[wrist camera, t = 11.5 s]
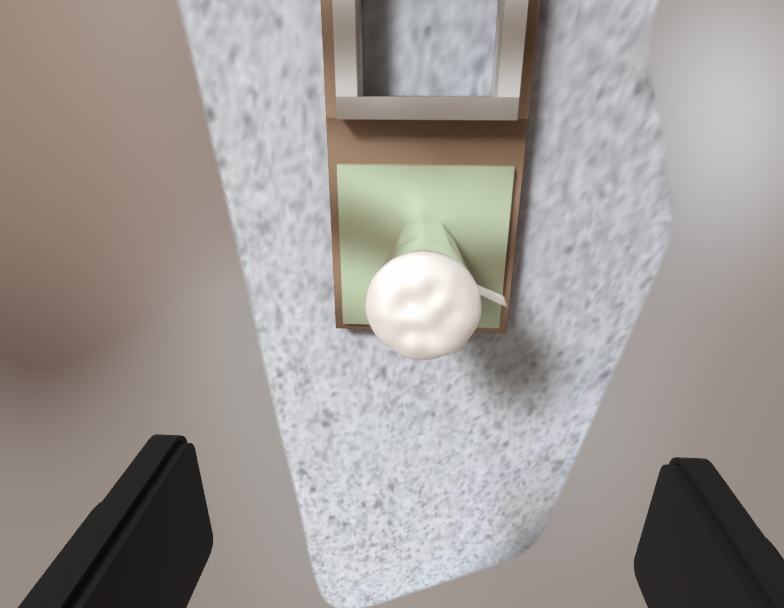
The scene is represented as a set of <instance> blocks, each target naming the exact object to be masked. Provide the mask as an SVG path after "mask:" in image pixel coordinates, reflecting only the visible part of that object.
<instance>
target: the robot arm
mask: <svg viewBox="0 0 784 608" xmlns="http://www.w3.org/2000/svg"><path fill="white" fill-rule="evenodd" d="M212 545H213V533H212V528H211V524H210V519H209V514H208V509H207V504H206V500H205V495H204V490H203V485H202V480H201V475H200V471H199V466H198V461H197V456H196V451H195V447H194V445H193V444H192V443H187V440H186V438H185V437H184V436H180V435H179V436H178V435H157V434H156V435H153V436H152V437H151V438H150V439H149V440H148V441H147V443H146V444H145V446H144V447H143V448H142V450H141V451H140V452H139V453H138V455H137V456H136V457H135V459H134V460H133V461H132V463H131V464H130V465H129V467H128V468H127V469H126V471H125V472H124V473H123V475H122V476H121V477H120V479H119V480H118V481H117V483H116V484H115V485H114V486H113V488H112V489H111V490H110V492H109V493H108V494H107V496H106V497H105V498H104V500H103V501H102V502H101V503H99V504H98V505H97V506H96V507H95V508H94V509H93V510H92V511H91V512H90V514H89V515H88V516H87V518H86V519H85V520H84V522H83V523H82V524H81V526H80V527H79V528H78V529H77V531H76V532H75V533H74V535H73V536H72V537H71V539H70V540H69V541H68V543H67V544H66V545H65V546H64V548H63V549H62V550H61V552H60V553H59V554H58V556H57V557H56V558H55V560H54V561H53V562H52V563H51V565H50V566H49V567H48V569H47V570H46V572H45V573H44V574H43V575H42V577H41V578H40V579H39V581H38V582H37V583H36V584H35V586H34V587H33V588H32V590H31V591H30V592H29V594H28V595H27V596H26V598H25V599H24V600H23V601H22V603H21V604H20V605H19V607H18V608H186V607H187V605H188V603H189V600H190V598H191V596H192V594H193V591H194V589H195V587H196V585H197V582H198V580H199V578H200V576H201V573H202V571H203V569H204V567H205V565H206V563H207V560H208V558H209V556H210V553H211V550H212ZM634 571H635V576H636V579H637V582H638V584H639V587H640V589H641V591H642V594H643V596H644V599H645V601H646V604H647V606H648V608H784V559H783V558H782V557H781V555H780V554H779V552H778V551H777V549H776V548H775V547H774V546H773V545H772V543H771V542H770V541H769V540H768V539H767V538H765V536H764V535H763V533H762V532H761V531H760V529H759V528H758V527H757V526H756V524H755V523H754V521H753V520H752V518H751V517H750V515H749V514H748V513H747V511H746V510H745V509H744V507H743V506H742V504H741V503H740V502H739V500H738V499H737V498H736V496H735V495H734V493H733V492H732V491H731V489H730V488H729V486H728V485H727V484H726V482H725V481H724V480H723V478H722V477H721V475H720V474H719V473H718V471H717V470H716V469H715V467H714V466H713V465H712V463H711V462H710V461H709V460H707V459H701V458H678V457H677V458H673V459H672V460H671V461H670V463H669V465H663V466H662V467H661V469H660V472H659V476H658V479H657V483H656V486H655V489H654V493H653V496H652V500H651V503H650V507H649V510H648V514H647V517H646V521H645V524H644V527H643V531H642V534H641V538H640V541H639V544H638V548H637V552H636V555H635V558H634Z"/></svg>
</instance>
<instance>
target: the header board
mask: <svg viewBox="0 0 784 608" xmlns="http://www.w3.org/2000/svg"><path fill="white" fill-rule="evenodd" d="M539 10H540V0H498V8H497V22H496V35H495V49H494V62H493V76H492V89H491V96H363V56H362V3H361V0H321V16H322V38H323V59H324V81H325V102H326V124H327V145H328V167H329V188H330V210H331V231H332V252H333V274H334V295H335V317H336V328H348V329H372V328H371V326H370V324H369V321H368V318H367V315H366V297H367V292H368V289H369V285H370V283H371V281H372V279H373V277H374V276H375V274H376V273H377V271H378V270H379V268H380V266H381V265H382V263H383V262H384V260H385V258H386V256H387V254H388V252H389V250H390V248H391V246H392V244H393V242H394V240H395V239H396V237H397V236H398V234H399V233H400V231H401V230H402V228H403V227H404V225H406V224H409V223H412V222H414V221H417V220H420V219H422V218H423V219H427V220H431V221H434V222H438V223H441V224H442V225H443V226H444V227H445V229H446V230H447V231H448V232H449V234H450V235H451V236H452V237H453V239H454V241H455V243H456V245H457V247H458V250H459V252H460V254H461V256H462V258H463V260H464V263H465V264H466V266H467V268H468V270H469V271H470V273H471V275H472V277H473V278H474V280H475V282H476V284H477V285H480V286H482V287H484V288H487V289H489V290H491V291H494V292H496V293H498V294H501V295H503V296H504V297H505V299H506V302H507V305H508V307H505V306H503V305H500V304H498V303H496V302H494V301H492V300H490V299H487V298H485V297H483V296H481V295H480V297H481V317H480V321H479V324H478V326H477V328H476V329H475V331H474V332H483V333H506V330H507V320H508V310H509V301H510V291H511V281H512V272H513V262H514V252H515V243H516V233H517V223H518V213H519V204H520V194H521V184H522V175H523V165H524V155H525V145H526V136H527V126H528V116H529V107H530V97H531V87H532V78H533V68H534V58H535V48H536V39H537V29H538V19H539Z"/></svg>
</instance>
